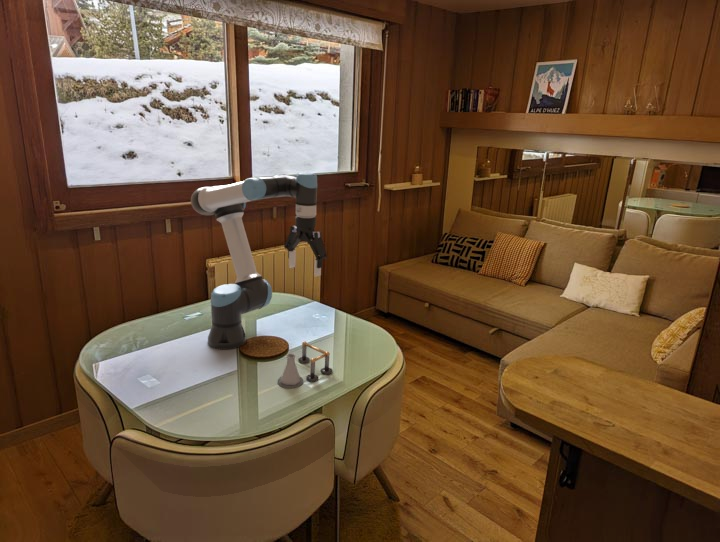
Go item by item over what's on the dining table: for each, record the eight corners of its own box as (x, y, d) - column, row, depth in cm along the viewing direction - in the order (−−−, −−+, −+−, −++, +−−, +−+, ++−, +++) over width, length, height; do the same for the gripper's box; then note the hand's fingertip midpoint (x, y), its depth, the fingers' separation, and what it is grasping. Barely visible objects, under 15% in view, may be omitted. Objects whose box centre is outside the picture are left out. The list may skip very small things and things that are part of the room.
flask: (277, 384, 173) (277, 358, 170) (284, 374, 180) (284, 349, 177) (296, 387, 172) (297, 361, 169) (303, 377, 179) (304, 352, 176)
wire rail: (281, 367, 186) (281, 347, 183) (304, 357, 195) (304, 338, 192) (312, 383, 176) (312, 362, 174) (334, 371, 185) (335, 351, 182)
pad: (272, 381, 175) (272, 380, 175) (291, 372, 182) (291, 371, 182) (289, 391, 170) (289, 390, 170) (308, 381, 177) (308, 380, 177)
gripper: (275, 211, 184) (274, 265, 191) (323, 223, 169) (321, 281, 176) (290, 209, 190) (289, 262, 196) (338, 220, 175) (335, 277, 181)
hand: (304, 271), depth 186 cm, fingers open, 13 cm apart
